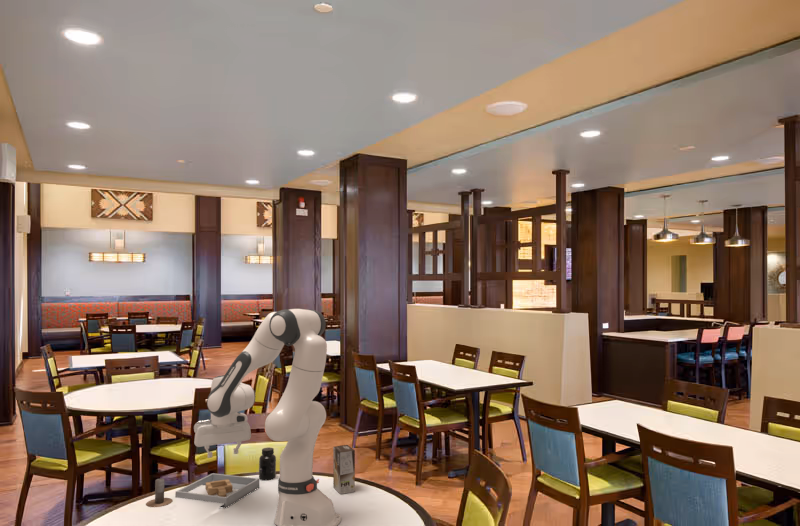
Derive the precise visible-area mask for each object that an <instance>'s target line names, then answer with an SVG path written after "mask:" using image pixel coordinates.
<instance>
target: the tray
mask: <svg viewBox="0 0 800 526" xmlns="http://www.w3.org/2000/svg"><path fill="white" fill-rule="evenodd" d="M226 479H229V481H230V483H231V484H232V486H233V488H232V490H235V491H234V492H231V493H230V494H228V495H226V497H221V496H218V495H208V494H203V493H195V492H191V491H192V490H195V489H196V488H198V487H200V486H206V482H212V481H219V480H226ZM257 488H258V489H259V488H260V479H259V477H258V478H256V477H249V476H248V477H247V476H241V475H240V476H239V475H232V474H223V473H214V472H213V473H210V474H207V475H206V476H204V477H201V479H198V480H195V481H194V482H192V483H190V484H188V485H186V486H184V487H182V488H180V489H178V490H177V491H175V498H178V499H184V500H185V499H186V500H192V501H193V500H194V501H200V502H201V501H202V502H208V503H216V504H222V505H220V506H219V508H221V507H225V508H224V509H227V508H229V507H230V506H232V505H233V503H234V502H235V503H237V502H239V501H240V500H242V499H244V498H245V497H247V496H248V495H250V494H251V493H253V492H254V490H255V489H256V490H258V489H257ZM256 490H255V491H256ZM252 491H253V492H252ZM250 492H251V493H250ZM249 493H250V494H249ZM247 494H248V495H247ZM246 495H247V496H246ZM244 496H245V497H244ZM241 498H242V499H241ZM239 499H240V500H239ZM236 501H237V502H236ZM235 503H234V504H235ZM231 504H232V505H231ZM228 506H229V507H228ZM226 507H227V508H226Z"/></svg>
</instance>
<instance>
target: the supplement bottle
mask: <svg viewBox="0 0 800 526" xmlns="http://www.w3.org/2000/svg"><path fill="white" fill-rule="evenodd" d="M274 450H275V449H274V448H273V447H264V448H262V449H261V455H260V457H259V460H258V461H259V463H258V478H259V480H260V481H272V480H274V479H275V478H276V476H277V475H276V474H277V473H276V472H277V471H276V470H277V457H276V454H275V451H274ZM271 479H272V480H271Z"/></svg>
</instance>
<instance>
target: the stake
mask: <svg viewBox="0 0 800 526" xmlns="http://www.w3.org/2000/svg"><path fill="white" fill-rule="evenodd" d="M154 488H155V489H154V499H150V500H148V501H147V502H146V503H145V506H147V507H148V508H162V507H165V506H168V505H170V504H172V503H173V501H174V500H173V499H172V498H169V497H165V478H157V479H155V483H154Z"/></svg>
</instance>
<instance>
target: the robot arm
mask: <svg viewBox="0 0 800 526" xmlns="http://www.w3.org/2000/svg"><path fill="white" fill-rule="evenodd" d="M326 322H327V321H326V319H325V317H324V315H323V314H322V313H321V312H320V311H319V310H314V309H304V308H290V309H281V310H278V311H272V312H270V313H268V314H267V315H266V316H265V317H264V319H263V320H262V321H261V323H260V324H259V326H258V328H257V330H256V331H255V332H254V335H253V336H252V338H251V340H250V341H249V343H248V344H247V346H246V347H245V348H244V349H243V350H242V351H241V352H240V353H239V354H238V356H236V357H235V359H234V360H233V362H232V363H231V365H230V366H229V368H228V369H227V370H226V373H225V374H224V375H218V376H215V377H213V379H212V381H211V385H210V386H211V387H210V393H209V394H208V396H207V399H206V400H207V401H206V407H207V409H208V411H209V412H210V419H205V420H198V421H197V422H195V424H194V425H193V431H194V433H195V434H194V441H193V442H194V445H195V447H197V448H201V447H204V450H205V451H206V452H207V459H210V458H213V451H210V450H209V449H210V446H215V445H222V444H223V445H224V444H230V443H231V444H232V443H236V444H237V445H236V447H233V454H234V455H238V454H239V449H240V447H241V446H242V442H244V441H245V442H247V441H250V439H251V437H252V432H251V426H250V424H249V422H248V421H249V419H248V415H246V414H245V413H244V412H242V411H246V410H248V409H251V408H252V407H253V406H254V404H255V402H256V391H255V390H254V387H253V386H251V385H250V384H246V383H243V382H242V381H243V380H244V378H245V377H246V376H247V375H249V374H250V373H252V372H253V371H255V370H257V369H260V368H262V367H266V366H267V365H269V364H271V363H273V362H274V361H275V360H276V359H277V358H278V357H279V355H280V353H281V352H282V350H283V348H284V346H287V347H291V346H293V347H294V356H293V360H292V364H291V368H290V373H289V377H288V381H287V384H286V387H285V389H284V392H283V393H282V396H280V399H279V402H278V403H277V404H276V406H275V407H274V409H273V410H272V411H271V412H270V413H269V414H268V415H267V416H266V419H265V420H264V421H265V422H264V429H265V430H264V431H265V433H266V435H267V437H268V438H269V439H270V440H271V441H272V442H273V441H274V442H286V445H285V446H284V449H283V450H282V451H281V453H280V455H279V478H278V483H277V484H278V485H277V492H278V499H277V500H278V501H277V502H278V503H277V509H276V513H275V517H274V520H273V523H274V524H275V525H276V526H338V525H339V524H340V522H341V520H342V517H341V516H342V515H341V514H340V513H336V512H335V507H334V503H333V501H332V499H331V498H329V497H328V496H327V495H326V494H325V493H324V492H323V491H321V489H319V488H318V484H319V483H320V479H319V478H318V479H315V477H314V475H313V465H314V462H313V461H314V451H315V447H316V444H317V443H316V442H317V439H318V437H319V433H320V430H321V429H322V427H323V425H324V424H325V423H326V419H327V411H326V409H325V406H324V405H323V404H322V403H321V402H319V401H316V400H314V399H315V397H317V396H318V394H319V392H320V391H321V386H322V382H323V378H324V377H323V376H324V372H325V369H326V368H325V367H326V362H327V355H328V354H327V353H328V352H327V351H328V346H327V345H328V344H327V341H326V339H325V338H324V337H323V336H322V334H324V332H325V329H326V326H327V325H326V324H327V323H326Z"/></svg>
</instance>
